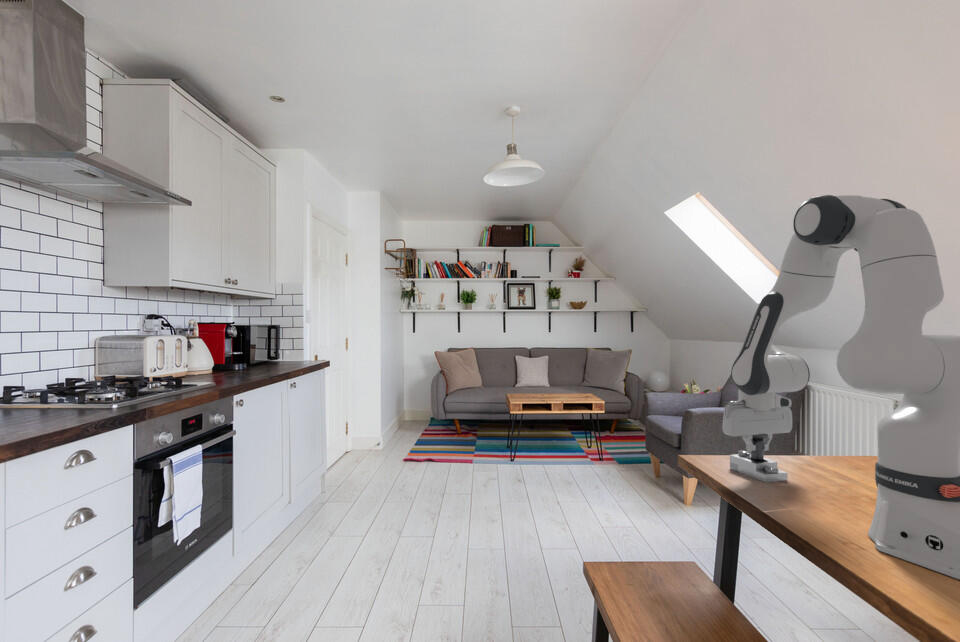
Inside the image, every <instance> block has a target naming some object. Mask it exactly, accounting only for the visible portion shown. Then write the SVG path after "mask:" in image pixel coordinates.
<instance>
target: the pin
mask: <svg viewBox="0 0 960 642" xmlns="http://www.w3.org/2000/svg"><path fill="white" fill-rule="evenodd" d="M763 438H766V434H758V435H753V439H751V441H752V443H753V445H756V448H755V449H756V451H752V452H750V453H751V460H752V461H755V462H764V458H765V457H764V456H765V455H764V452H765V451H764V441H763Z"/></svg>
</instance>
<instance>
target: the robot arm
mask: <svg viewBox="0 0 960 642" xmlns="http://www.w3.org/2000/svg"><path fill="white" fill-rule="evenodd" d="M792 226H793V231H794V233H793V234H792V237H791V238H790V241H789V243H788V245H787V247H786V250H785V252H784V256H783V257H782V258H783V259H782V263H781V265H780V269H779V274H778V275H777V279H776V281H775V284H774V285H773V286H772V288H771V290H770V291H769V292H768V294H766V295H765V296H764V297H763V298H762V299H761V301H760V302H759V304H758V307H757V309H756V311H755V313H754V316H753V319H752V322H751V324H750V326H749V329H748V332H747V335H746V337H745V340H744V343H743V344H741V346H740V347H739V352H738V356H737V357H736V359H735V360H734V362H733V363H732V365H731V366H732V367H731V370H730V375H731V380H732V382H733V383H734V385H735V386H736V388H737V389H738V391H737V392H738V393H737V394H738V395H737V396H738V399H737V400H736V401H735V400H731V401H729V402H728V403H726V405H725V406H724V408H723V409H724V412H723V418H722V424H721V425H722V426H721V427H722V428H721V430H722V432H723V434H725V435H727V436H730V437H741V439H742V440H743V442H744V443H745V451H749V452H750V453H751V452H752V451H756V449H755V448H756V445H753V443H752V441H751V439H753V435H758V434H766V438H763V441H764V452H765V451H769V449H770V446H769V445H770V443H771V441H772V439H773V435H777V434H786V433H787V434H788V433H791V431H792V429H793V411H792V410H791V407H792V399H790V398H788V397H785V396H782V395H779V394H781V393H795V392H799V391H802V390H804V389H805V388H806V387H807V385H808V384H809V381H810V379H811V378H810V377H811V375H810V374H811V372H810V368H809V365H808V363H807V362H806V361H805V360H804V359H803V358H802V357H801V356H797V355H793V354H790V353H789V352H785V351H784V350H782V349H780V348H777V347H776V345H774V341H775V339H776V337H777V334H778V333H779V329H780V328H781V327H782V325H783V324H784V323H786V322H787V321H788V320H790V319H792V318H793V317H795V316H797V315H800V314H802V313H805V312H808V311H812V310H813V309H815V308H817V307H819V306H820V305H822V304H823V303H824V302H825V301H826V300H827V299H828V297H829V296H830V293H831V292H832V289H833V286H834V283H835V278H836V275H837V270H838V264H839V261H840V260H841V259H840V258H841V257H842V256H843V255H844V254H845V253H846V252H848V251H850V250H854V251H856V252H858V253H857V254H858V256H859V266H860V271H861V278H862V286H863V294H864V312H863V316H862V320H861V323H860V326H859V328H858V330H857V331H856V332H855V334H854V335H853V336H852V337H850V339H849V340H847V341H846V342H845V343H844V344H842V346H841V347H840V349H839V351H838V354H837V357H836V369H837V372H838V373H839V376H840V377H841V379H842V380H843V381H844V382H845V383H846V385H848V386H849V387H851V388H853V389H857V390H861V391H864V392H869V393H878V394H881V395H883V394H886V395H887V394H888V395H889V394H890V395H891V394H893V395H894V394H895V395H896V394H898V395H899V394H901V395H903V396H902V398H901V401H900V403H899V404H898V405H897V407H896V408H895V409H894V410H893V411H891V412H890V413H888V414H887V415H885V416H884V417H882V418H881V419H880V420H879V423H878V425H877V461H876V462H875V465H874V477H875V478H874V479H875V484H876V485H875V486H876V488H877V492H876V493H877V494H876V500H875V501H876V502H875V508H874V513H873V517H872V521H871V523H870V527H869V529H868V531H867V534H868V537H869V538H870V539H871V540H872V541H873V543H875V545H874V547H875V549H876V550H878V551H879V552H883V553H885V554H888V555H891V556H892V557H896V558H899V559H902V560H903V561H907V562H910V563H912V564H915V565H918V566H920V567H923V568H926V569H929V570H932V571H935V572H937V573H940V574H943V575H946V576H949V577H952V578H954V579H957V580H960V335H956V334H923V331H922V330H923V323H924V320H925V319H924V318H925V316H926V314H927V313H929V312H931V311H933V310H934V309H935V308H937V307H939V306H940V305H941V303H942V301H943V299H944V295H945V292H944V287H943V286H944V285H943V282H942V277H941V272H940V267H939V262H938V256H937V252H936V248H935V245H934V241H933V239H932V236H931V233H930V231H929V229H928V226H927V225H926V222H925V221H924V218H923V217H922V216H921V214H920V213H919V212H917V211H916V210H914V209H910V208H907V207H906V206H905V204H902V203H900V202H898V201H895V200H892V199H889V198H876V197H870V196H869V197H868V196H861V195H851V194H849V195H848V194H847V195H845V194H844V195H832V194H823V195H817V196H814V197H810V198H808V199H807V200H805V201H803V202H802V203H801V205H800V206H799V207H798V209H797V210H796V212H795V215H794V218H793V225H792Z"/></svg>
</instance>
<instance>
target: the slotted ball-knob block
mask: <svg viewBox="0 0 960 642" xmlns="http://www.w3.org/2000/svg"><path fill="white" fill-rule="evenodd" d="M729 469H730V470H731V471H734V472H737V473H740V474H741V475H742V474H743V475H744V476H748V477H750V478H752V479H755V480H758V481H760V482H763V483H765V484H767V483H777V482H783V481H784V482H786V481H788V472H786V471H783V470H780V469H779V468H778V461H775V460H773V459H769V458H766V457H764V462H755V461H752V460H751V452H750V451H747V450H738V451H737V454H735V453H734V454H729Z"/></svg>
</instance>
